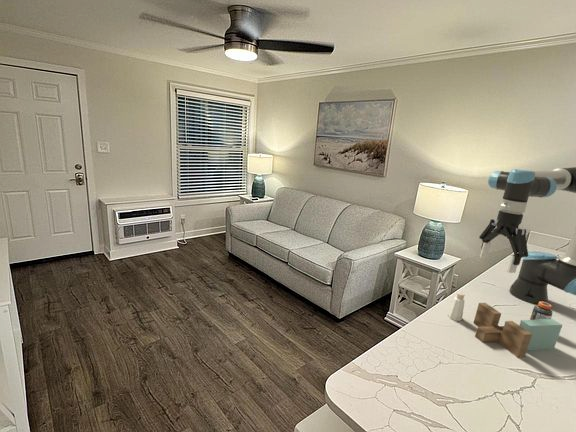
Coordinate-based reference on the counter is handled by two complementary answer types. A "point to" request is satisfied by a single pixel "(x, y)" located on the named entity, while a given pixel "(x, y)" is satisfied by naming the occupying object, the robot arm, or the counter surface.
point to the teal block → (542, 333)
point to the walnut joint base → (500, 331)
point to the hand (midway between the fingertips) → (496, 264)
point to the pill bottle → (541, 311)
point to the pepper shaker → (457, 307)
